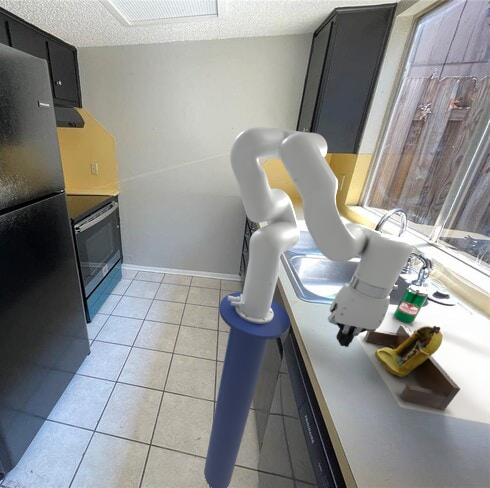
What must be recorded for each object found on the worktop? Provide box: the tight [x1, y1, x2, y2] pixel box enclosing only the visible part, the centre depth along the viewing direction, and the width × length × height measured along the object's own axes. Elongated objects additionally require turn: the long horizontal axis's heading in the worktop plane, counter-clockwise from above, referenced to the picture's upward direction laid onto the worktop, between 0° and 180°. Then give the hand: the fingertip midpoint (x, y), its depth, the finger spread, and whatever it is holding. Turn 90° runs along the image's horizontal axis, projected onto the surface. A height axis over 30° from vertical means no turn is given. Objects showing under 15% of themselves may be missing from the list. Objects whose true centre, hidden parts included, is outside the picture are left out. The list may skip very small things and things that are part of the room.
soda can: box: [393, 284, 429, 324], centre depth 83 cm, size 5×5×12 cm
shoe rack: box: [363, 324, 461, 411], centre depth 66 cm, size 8×20×7 cm, turn 166°
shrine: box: [374, 325, 443, 379], centre depth 64 cm, size 12×8×15 cm
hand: (342, 342), depth 69 cm, fingers closed
